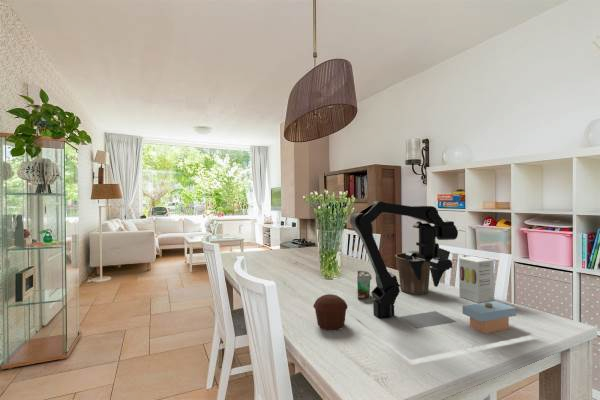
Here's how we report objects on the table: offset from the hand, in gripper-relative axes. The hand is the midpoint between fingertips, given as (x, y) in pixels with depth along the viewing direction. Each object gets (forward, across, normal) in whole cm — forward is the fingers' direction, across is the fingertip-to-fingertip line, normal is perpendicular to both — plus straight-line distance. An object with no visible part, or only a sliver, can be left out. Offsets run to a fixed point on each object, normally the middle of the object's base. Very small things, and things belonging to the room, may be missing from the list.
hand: (427, 283), depth 110 cm
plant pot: (+12, +26, -14) cm, 32 cm away
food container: (+12, +27, +11) cm, 31 cm away
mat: (+12, -5, +4) cm, 13 cm away
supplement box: (+12, +9, -31) cm, 35 cm away
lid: (+6, -17, -10) cm, 20 cm away
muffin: (+13, +3, +36) cm, 39 cm away
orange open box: (+12, -17, -10) cm, 23 cm away
